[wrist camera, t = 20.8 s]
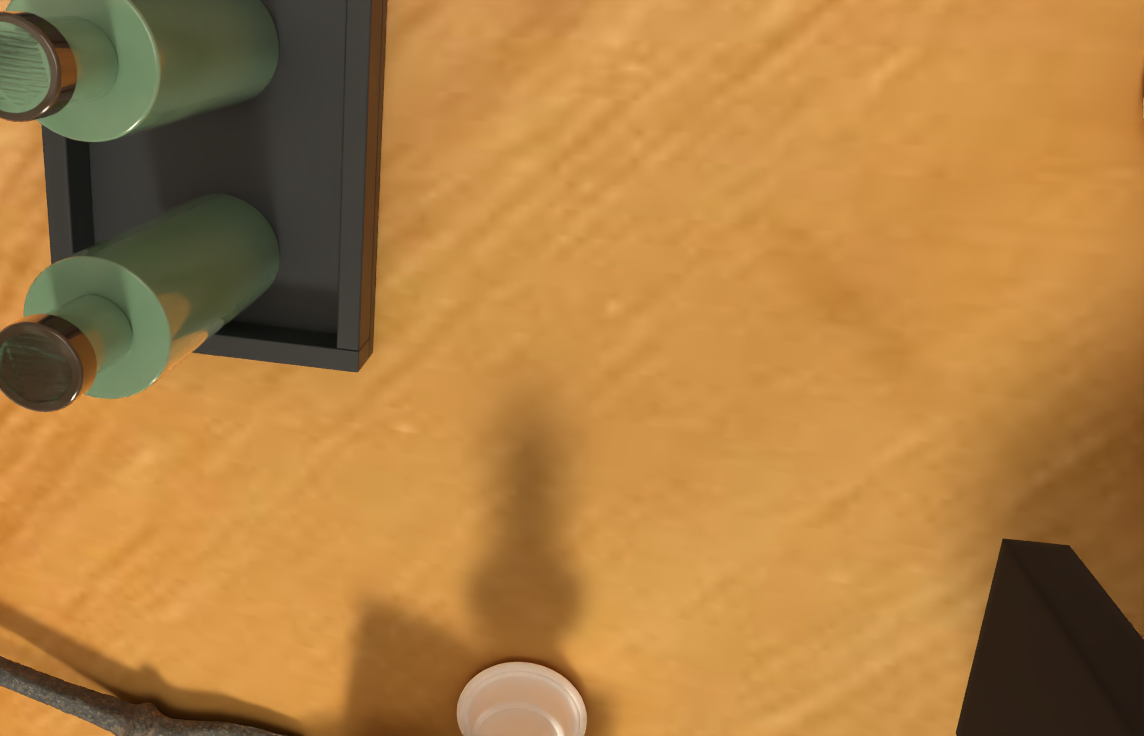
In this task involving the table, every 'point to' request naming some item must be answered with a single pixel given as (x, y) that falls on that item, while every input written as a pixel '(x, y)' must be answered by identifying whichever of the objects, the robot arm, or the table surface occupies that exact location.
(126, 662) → the table surface
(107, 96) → the tray bottle
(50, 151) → the tray
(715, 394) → the table surface
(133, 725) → the artifact
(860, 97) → the table surface
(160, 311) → the loose bottle
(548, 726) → the candle
